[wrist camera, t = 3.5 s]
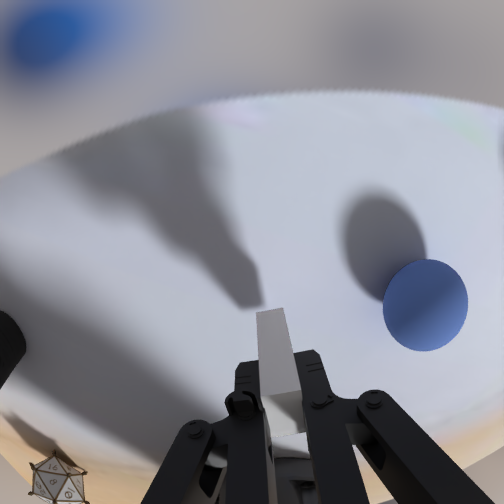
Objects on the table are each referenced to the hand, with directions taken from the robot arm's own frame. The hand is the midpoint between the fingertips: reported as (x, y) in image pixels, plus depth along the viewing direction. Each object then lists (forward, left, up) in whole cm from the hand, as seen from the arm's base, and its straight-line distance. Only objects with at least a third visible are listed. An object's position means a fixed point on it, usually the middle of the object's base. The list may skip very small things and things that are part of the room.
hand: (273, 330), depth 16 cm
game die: (-32, -15, -2) cm, 35 cm away
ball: (+9, -2, +1) cm, 9 cm away
